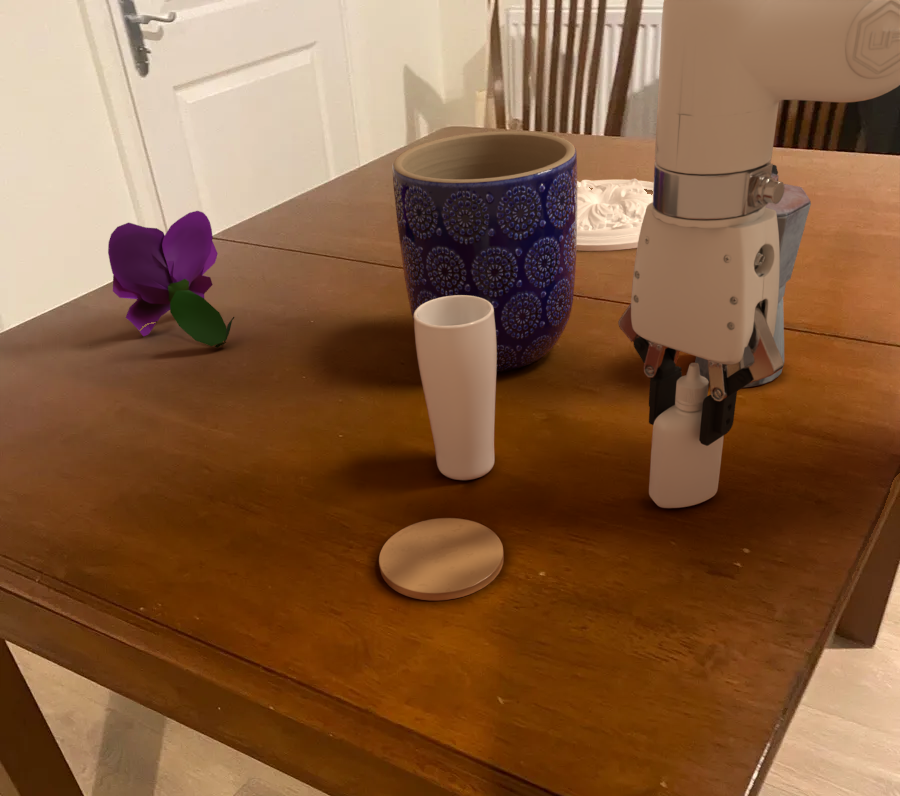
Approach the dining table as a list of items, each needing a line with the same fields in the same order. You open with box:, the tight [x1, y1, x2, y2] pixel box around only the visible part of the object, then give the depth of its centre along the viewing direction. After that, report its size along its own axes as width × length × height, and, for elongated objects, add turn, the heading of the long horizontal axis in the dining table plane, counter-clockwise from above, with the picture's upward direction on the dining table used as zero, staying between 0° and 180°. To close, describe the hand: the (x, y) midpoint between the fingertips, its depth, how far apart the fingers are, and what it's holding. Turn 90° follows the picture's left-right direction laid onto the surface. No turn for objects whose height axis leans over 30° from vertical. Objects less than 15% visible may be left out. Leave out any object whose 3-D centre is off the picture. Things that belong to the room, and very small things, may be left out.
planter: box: [391, 130, 578, 373], centre depth 97 cm, size 18×18×21 cm
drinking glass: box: [413, 295, 498, 481], centre depth 80 cm, size 7×7×15 cm
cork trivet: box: [378, 517, 505, 602], centre depth 74 cm, size 10×10×1 cm
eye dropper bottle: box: [648, 362, 725, 509], centre depth 74 cm, size 4×6×12 cm
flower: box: [107, 210, 236, 349], centre depth 110 cm, size 15×15×14 cm
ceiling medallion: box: [576, 178, 654, 252], centre depth 134 cm, size 28×28×3 cm
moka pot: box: [694, 164, 812, 388], centre depth 89 cm, size 10×15×20 cm, turn 158°
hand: (688, 426), depth 73 cm, fingers closed on eye dropper bottle, 4 cm apart
